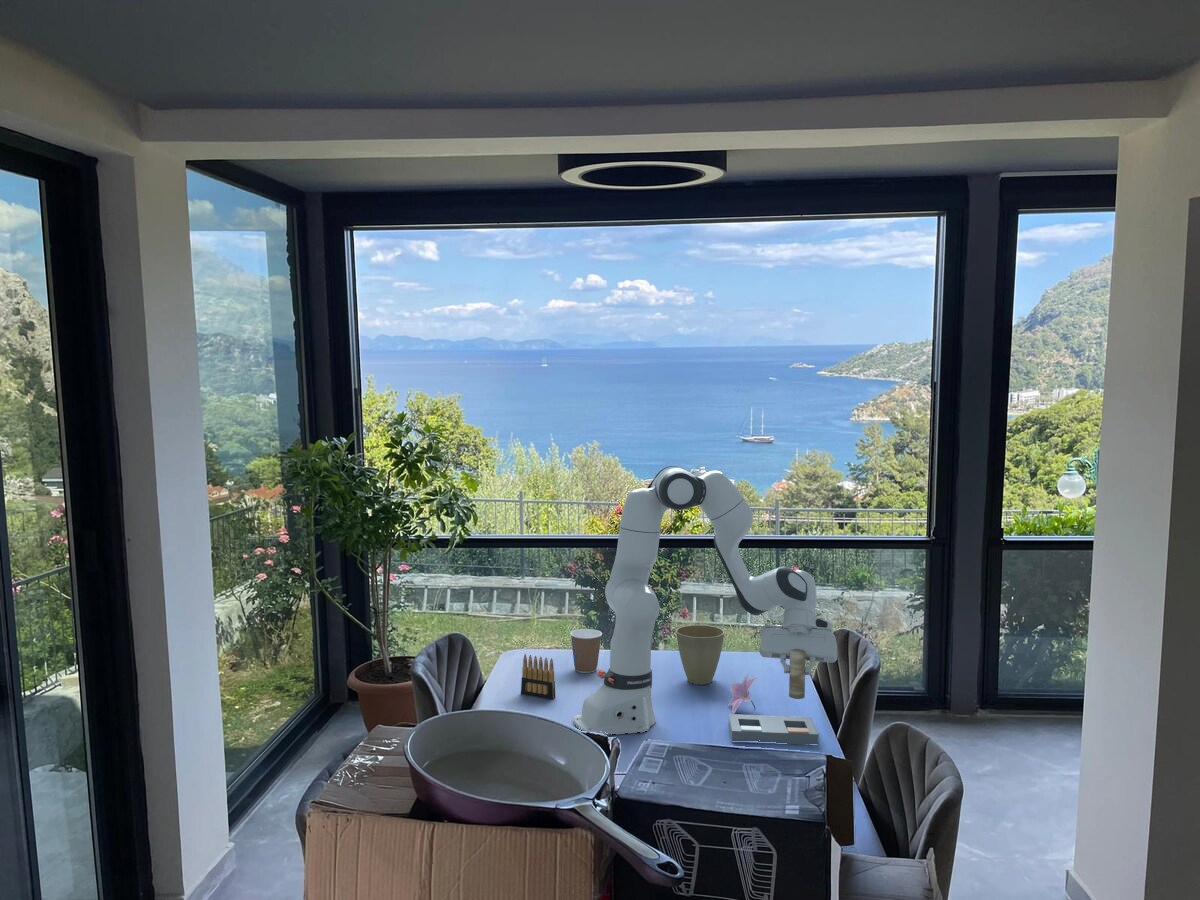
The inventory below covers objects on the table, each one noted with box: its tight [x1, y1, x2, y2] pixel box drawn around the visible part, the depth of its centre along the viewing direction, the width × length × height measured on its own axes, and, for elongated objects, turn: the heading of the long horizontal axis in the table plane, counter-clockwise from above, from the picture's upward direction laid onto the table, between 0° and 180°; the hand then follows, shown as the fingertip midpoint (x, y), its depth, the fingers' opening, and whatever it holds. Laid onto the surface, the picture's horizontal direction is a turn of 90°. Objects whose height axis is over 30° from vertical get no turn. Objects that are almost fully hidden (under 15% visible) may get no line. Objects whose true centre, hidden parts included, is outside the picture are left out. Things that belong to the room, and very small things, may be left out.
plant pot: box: [675, 624, 725, 686], centre depth 277 cm, size 15×15×16 cm
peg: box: [788, 649, 806, 700], centre depth 233 cm, size 4×4×12 cm
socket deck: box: [728, 713, 820, 746], centre depth 234 cm, size 22×12×3 cm, turn 86°
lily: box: [727, 673, 757, 714], centre depth 253 cm, size 12×12×10 cm
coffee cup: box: [569, 628, 603, 674], centre depth 287 cm, size 10×10×12 cm
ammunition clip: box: [520, 653, 556, 701], centre depth 262 cm, size 11×2×12 cm, turn 65°
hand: (797, 673), depth 232 cm, fingers closed on peg, 4 cm apart
